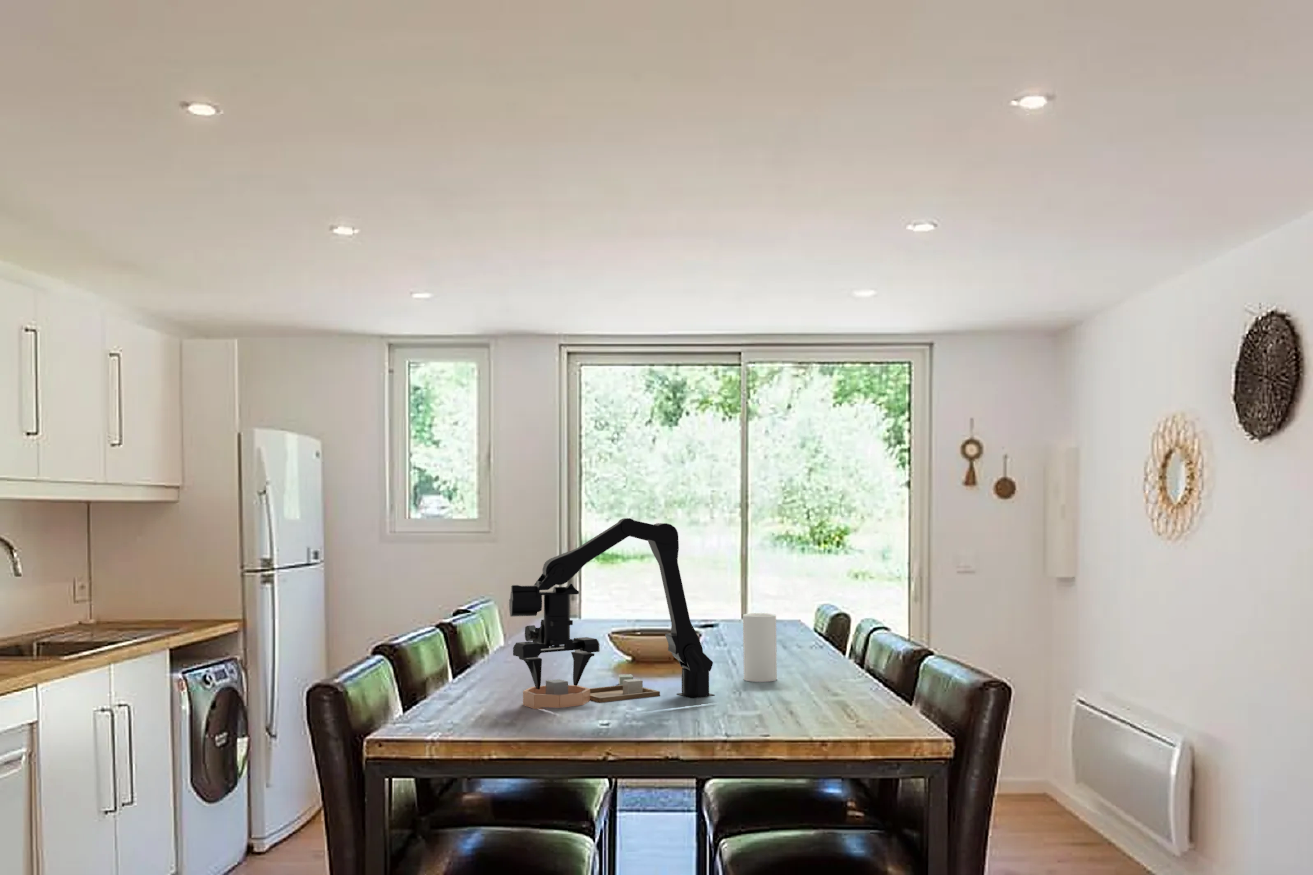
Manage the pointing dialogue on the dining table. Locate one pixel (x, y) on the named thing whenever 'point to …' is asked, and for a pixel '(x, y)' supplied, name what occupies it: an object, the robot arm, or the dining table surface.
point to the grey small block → (632, 686)
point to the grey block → (556, 687)
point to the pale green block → (624, 678)
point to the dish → (555, 697)
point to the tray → (618, 694)
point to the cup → (759, 647)
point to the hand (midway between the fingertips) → (556, 687)
